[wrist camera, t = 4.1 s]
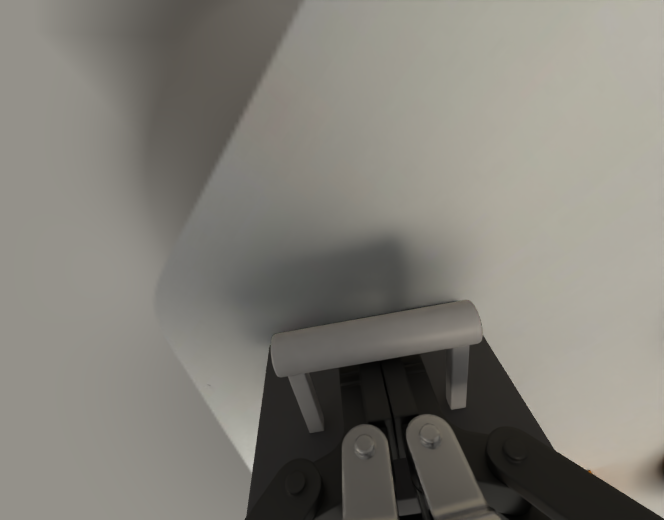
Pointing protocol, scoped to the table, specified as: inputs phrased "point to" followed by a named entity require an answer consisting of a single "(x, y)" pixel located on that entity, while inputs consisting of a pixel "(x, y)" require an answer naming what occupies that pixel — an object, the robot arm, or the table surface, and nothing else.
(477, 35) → the table surface
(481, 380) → the basket
